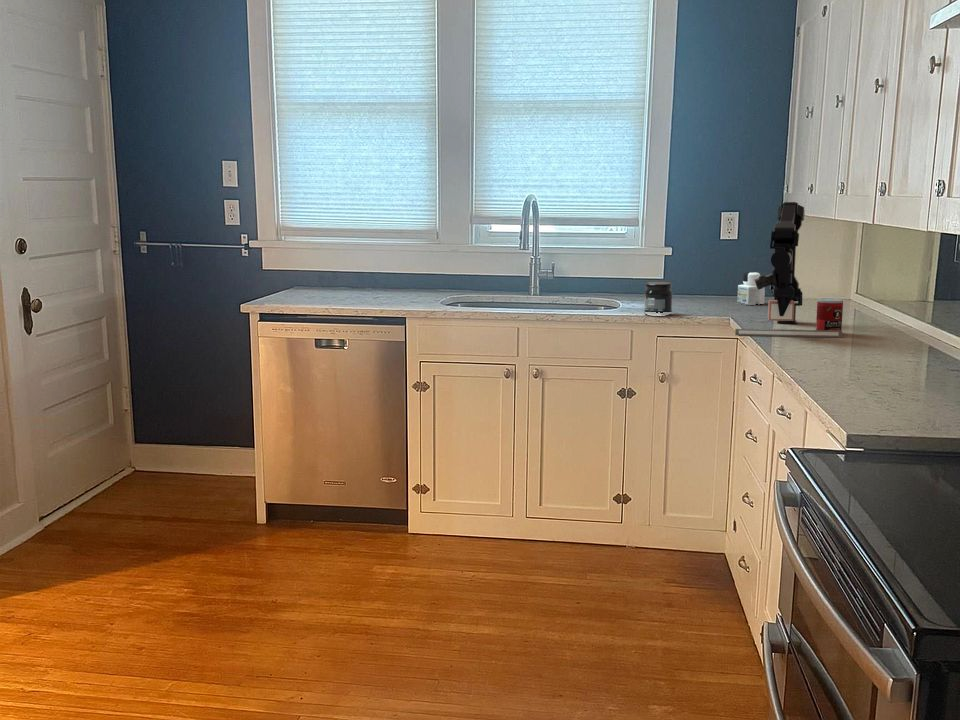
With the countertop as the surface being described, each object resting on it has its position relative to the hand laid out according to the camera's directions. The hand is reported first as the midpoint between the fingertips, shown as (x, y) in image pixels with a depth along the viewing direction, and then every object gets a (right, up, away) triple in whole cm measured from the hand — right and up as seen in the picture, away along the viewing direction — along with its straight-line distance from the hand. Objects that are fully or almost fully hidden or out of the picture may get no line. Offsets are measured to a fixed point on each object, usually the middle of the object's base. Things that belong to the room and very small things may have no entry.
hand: (780, 314), depth 285 cm
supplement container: (-30, +2, +50) cm, 58 cm away
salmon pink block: (0, -2, 0) cm, 2 cm away
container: (+13, +8, +74) cm, 76 cm away
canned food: (+15, -6, 0) cm, 16 cm away
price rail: (+1, -7, -4) cm, 8 cm away
